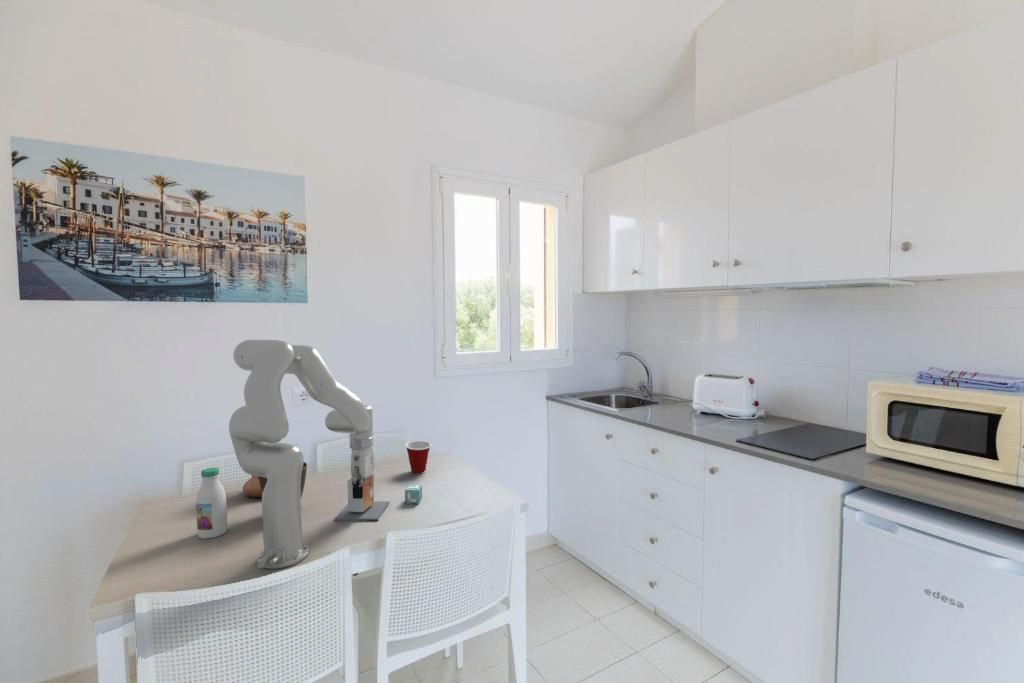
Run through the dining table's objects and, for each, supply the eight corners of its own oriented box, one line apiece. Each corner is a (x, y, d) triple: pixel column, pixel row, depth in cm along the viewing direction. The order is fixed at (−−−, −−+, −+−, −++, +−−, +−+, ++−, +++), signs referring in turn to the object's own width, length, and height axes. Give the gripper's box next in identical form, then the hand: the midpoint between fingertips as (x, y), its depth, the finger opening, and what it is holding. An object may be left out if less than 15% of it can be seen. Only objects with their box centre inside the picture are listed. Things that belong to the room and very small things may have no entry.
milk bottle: (222, 525, 149) (219, 463, 148) (231, 532, 144) (229, 468, 143) (193, 534, 143) (191, 470, 142) (202, 542, 138) (200, 475, 137)
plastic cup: (414, 477, 192) (413, 449, 192) (401, 471, 200) (400, 443, 200) (436, 471, 200) (436, 444, 199) (423, 465, 207) (422, 439, 207)
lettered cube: (419, 504, 166) (418, 489, 165) (404, 504, 166) (404, 489, 165) (422, 498, 171) (421, 484, 170) (408, 498, 171) (408, 484, 171)
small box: (363, 512, 154) (362, 481, 154) (347, 511, 155) (347, 480, 155) (374, 503, 162) (374, 473, 162) (359, 502, 163) (358, 472, 163)
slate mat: (377, 520, 152) (377, 518, 152) (334, 520, 152) (334, 518, 152) (389, 503, 166) (389, 501, 166) (350, 503, 166) (350, 501, 166)
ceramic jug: (292, 494, 175) (291, 456, 174) (248, 504, 166) (247, 464, 165) (279, 482, 189) (278, 447, 188) (238, 491, 179) (237, 454, 179)
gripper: (363, 449, 149) (365, 503, 150) (380, 435, 166) (381, 483, 167) (340, 449, 149) (341, 503, 150) (359, 435, 166) (360, 483, 167)
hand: (362, 492), depth 159 cm, fingers closed on small box, 8 cm apart
